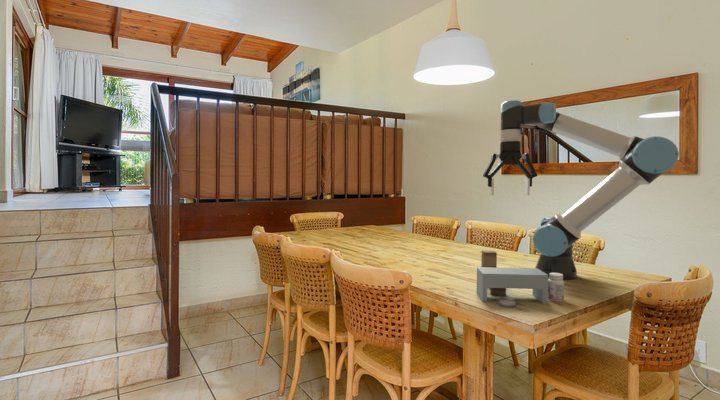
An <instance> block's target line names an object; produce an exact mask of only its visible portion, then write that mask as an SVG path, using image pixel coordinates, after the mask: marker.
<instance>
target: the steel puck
mask: <svg viewBox="0 0 720 400" xmlns="http://www.w3.org/2000/svg"><path fill="white" fill-rule="evenodd" d="M498 306H499V307H502V308H506V309H514V308H517V299H515V298H513V297H509V296H502V297H499V298H498Z"/></svg>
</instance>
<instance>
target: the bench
mask: <svg viewBox="0 0 720 400" xmlns="http://www.w3.org/2000/svg"><path fill="white" fill-rule="evenodd" d="M548 279H549V278H548V275H547V274H546V273H544V272H542V271H541V270H539V269H538V268H535V267H534V268H533V267H527V268H526V267H497V268H493V267H481V266H476V295H477V296H478V297H479V298H480V300H481V302H485V303H486V302H488V289H490V288H506V289H521V290H522V289H524V290H525V289H526V290H532V296H534V298H536V300H538V301H539V302H540V303H541V304H548Z"/></svg>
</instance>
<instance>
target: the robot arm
mask: <svg viewBox="0 0 720 400" xmlns="http://www.w3.org/2000/svg"><path fill="white" fill-rule="evenodd" d="M499 116H500V133H499V134H500V141H501V142H500V144H499V147H500V148H499V154H496V153H492V154H491V157H490V158H491V159H490V160H489V163H488V165H487V167H486V168H485V171H484V173H483V174H482V177H483V178H486V179H487V186H488V187H489V189H490V190H489V195H490V196H494V195H495V179H494V178H493V177H494V176H495V175H496V174H497V173H498V172H499V170H500V169H501V168H503V166H509V165H510V166H516V167H518V168H519V170H520V171H521V172H522V173H523V174H524V175H525V177H526V178H524V180H525V181H524V182H525V183H524V184H525V185H524V196H530V190H531V189H530V187H532V186H533V178H536V177H538V173H537V171H536V169H535V167H534V165H533V163H532V161H531V159H530V154H529V153H528V152H527V153H526V152H525V153H523V154H522V153H521V147H522V146H521V144H522V143H521V140H522V139H521V138H522V131H521V130H522V126H528V125H529V126H530V125H534V126H536V127H538V128H540V129H543V130H547V131H549V132H553V133H555V134H558V135H560V136H563V137H566V138H568V139H570V140H571V139H572V140H574V141H576V142H578V143H581V144H583V145H587V146H589V147H592V148H594V149H597V150H599V151H602V152H606V153H609V154H610V155H613V156H616V157H618V158H619V162H618V167H617V168H616V169H615V170H613V171H612V172H610V174H609V175H608V176H606V177H605V178H604V179H603V180H602V181H601V182H599V183H598V184H597V185H595V186H594V187H593V188H592V189H591V190H590V191H589V192H588V193H586V194H585V195H584V196H582V197H581V198H580V199H579V200H578V201H576V202H575V203H574V204H573V205H572V206H570V207H569V208H568V209H567V210H565V212H564V213H561V214H560V213H556V214H554V215H553V216H552V217H542V219H541V222H540V226H539V227H538V228H536V229H535V231H534V232H533V235H532V242H533V243H532V244H533V247H534V248H535V249H536V250H537V252H538V253H539V257H538V259H537V262H536V265H535V267H534V268H538V269H539V270H541V271H542V272H544V273H546V274H547V275H548V279H550V278H549V274H550V273H560V274H563V280H573V279H576V278H577V275H578V270H577V268H576V265H575V261H574V259H573V246H574V245H573V244H574V243H576V242H577V241H578V240H580V239H581V237H582V235H581V233H582V232H583V231H584V230H585V229H587V228H588V227H589V226H590V225H591V224H593V223H594V222H595V221H596V220H598V219H599V218H600V217H601V216H603V215H604V214H605V213H607V212H608V211H609V210H610V209H611V208H613V207H614V206H616V204H618V203H619V202H620V201H622V200H623V199H624V198H625V197H627V196H628V195H629V194H631V193H632V192H633V191H634V190H635V189H637V188H638V187H639V186H643V185H645V186H646V185H650V184H651V183H653V182H654V181H656V179H657V178H659V177H660V176H662V175H663V174H664V173H665V172H667V171H669V170H671V169H672V168H674V167H675V166H676V164H677V162H678V160H679V154H680V153H679V148H678V147H677V145H676V143H674V141H672V140H671V139H669V138H667V137H663V136H649V137H646V138H643V137H639V136H635V135H634V136H630V137H629V136H627V135H625V134H624V135H623V134H621V133H619V132H615V131H612V130H610V129H606V128H604V127H601V126H597V125H595V124H592V123H589V122H586V121H583V120H580V119H578V118H576V117H572V116H569V115H566V114H563V113H560V112H557V107H556V104H555V102H543V103H542V102H541V103H535V104H526V105H525V104H523V103H522V101H521V100H517V99H515V100H505V101H504V102H502V103H501V106H500V114H499ZM521 158H522V160H524V162H525V165H526V166H527V168H528V169H527V168H526V167H525V166H524V165H523V163H522V161H520V159H521ZM498 159H500V161H499V162H498V163H497V165H496V166H495V167H494V165H495V163H496V160H498ZM493 167H494V169H493V170H492V168H493Z"/></svg>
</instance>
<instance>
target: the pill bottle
mask: <svg viewBox="0 0 720 400" xmlns="http://www.w3.org/2000/svg"><path fill="white" fill-rule="evenodd" d="M564 299H565V281H564V279H563V274H560V273H550V274H549V278H548V297H547V300H549V301H552V302H563V301H564Z"/></svg>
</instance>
